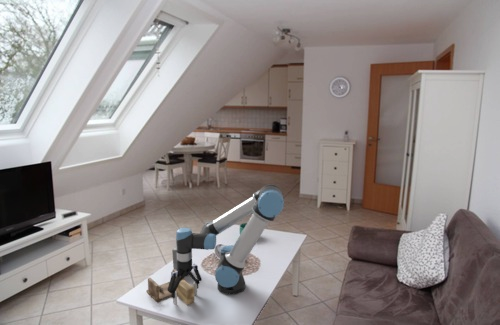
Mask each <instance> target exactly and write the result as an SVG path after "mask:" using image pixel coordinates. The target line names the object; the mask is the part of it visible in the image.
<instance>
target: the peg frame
mask: <svg viewBox="0 0 500 325" xmlns="http://www.w3.org/2000/svg"><path fill="white" fill-rule="evenodd" d="M172 271H173V272H176V271H177V270H176V269H174V268H173V269H172ZM177 275H178V274H177ZM180 277H181V276H180ZM176 278H177V276H176ZM175 280H176V279H175ZM182 280H185V277H184V278H183V279H182ZM182 280H181V281H182ZM169 283H170V281H168V282H165V283H162V284H160V285H159V283H157V282H156V281H154V279H152V278H151V277H148V278H147V289H146V293H147V294H148V295H149V296H150V298H152V299H153V300H154V301H155V302H156V303H158V302H160V301H164V300H166V299H169V298H170V297H171V293H170V292H169V291H168V286H169ZM176 292H177V289H176ZM171 298H172V297H171Z"/></svg>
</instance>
